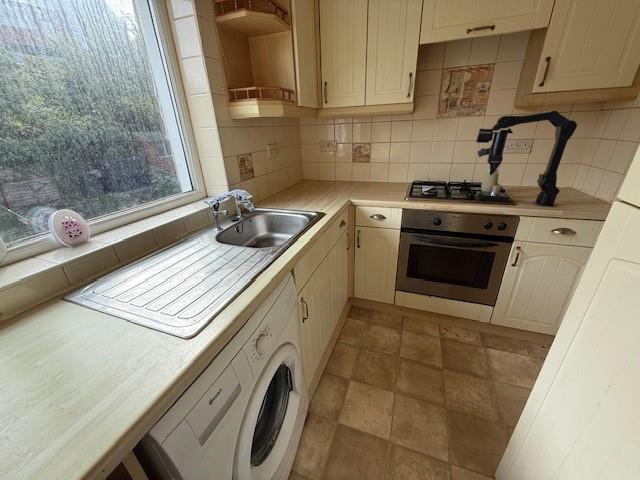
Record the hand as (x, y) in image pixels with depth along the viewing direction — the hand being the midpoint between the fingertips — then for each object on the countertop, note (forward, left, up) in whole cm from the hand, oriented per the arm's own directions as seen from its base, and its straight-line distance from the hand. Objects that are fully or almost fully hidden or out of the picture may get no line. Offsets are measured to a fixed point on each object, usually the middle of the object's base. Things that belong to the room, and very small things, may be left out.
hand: (491, 173), depth 141 cm
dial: (-4, -1, -11) cm, 12 cm away
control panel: (-4, -1, -14) cm, 15 cm away
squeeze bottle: (-3, -17, -14) cm, 22 cm away
